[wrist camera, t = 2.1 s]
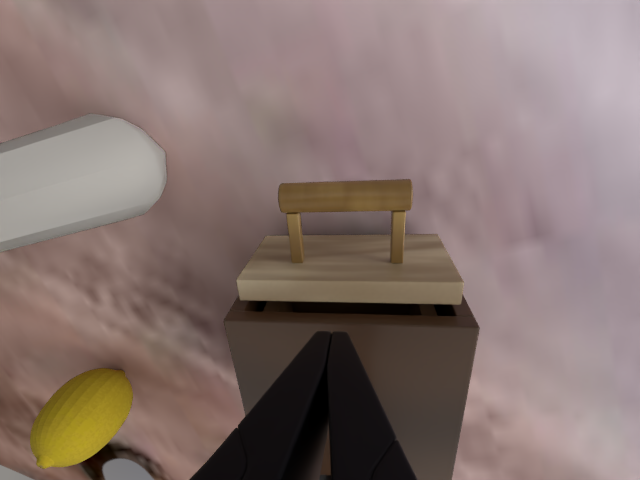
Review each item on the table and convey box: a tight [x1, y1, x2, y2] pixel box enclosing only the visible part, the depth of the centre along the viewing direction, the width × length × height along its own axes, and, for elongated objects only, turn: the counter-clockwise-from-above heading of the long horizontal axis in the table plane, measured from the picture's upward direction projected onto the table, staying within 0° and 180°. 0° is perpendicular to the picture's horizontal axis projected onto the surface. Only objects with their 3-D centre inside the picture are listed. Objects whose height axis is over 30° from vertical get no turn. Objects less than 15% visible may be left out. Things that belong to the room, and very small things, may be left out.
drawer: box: [236, 179, 464, 316], centre depth 18 cm, size 15×10×5 cm
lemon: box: [30, 368, 133, 469], centre depth 25 cm, size 6×6×8 cm
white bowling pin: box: [0, 114, 167, 252], centre depth 14 cm, size 6×6×13 cm
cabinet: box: [224, 294, 480, 480], centre depth 20 cm, size 12×12×7 cm
